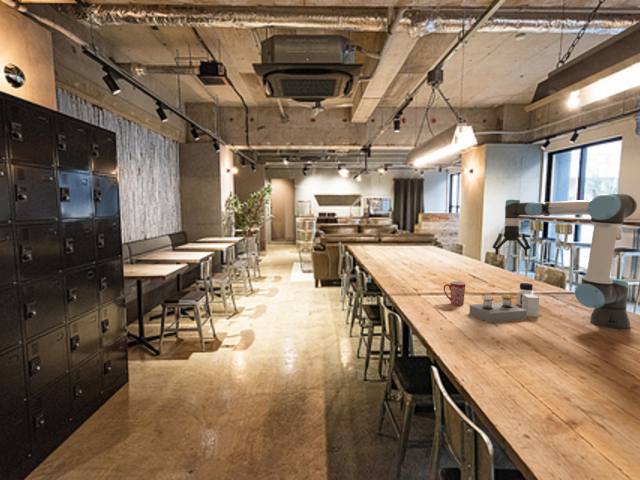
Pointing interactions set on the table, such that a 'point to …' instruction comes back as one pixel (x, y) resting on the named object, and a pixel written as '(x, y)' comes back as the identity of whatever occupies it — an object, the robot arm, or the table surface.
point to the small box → (530, 304)
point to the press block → (498, 313)
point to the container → (524, 291)
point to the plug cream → (487, 302)
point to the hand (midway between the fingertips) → (510, 260)
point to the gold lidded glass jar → (507, 300)
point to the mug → (456, 292)
